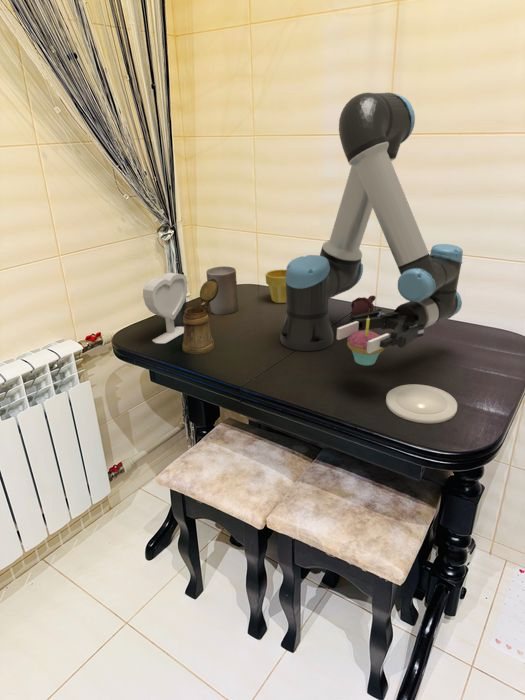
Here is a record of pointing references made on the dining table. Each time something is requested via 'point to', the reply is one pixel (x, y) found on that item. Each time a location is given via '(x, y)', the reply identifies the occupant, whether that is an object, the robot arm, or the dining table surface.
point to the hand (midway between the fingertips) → (352, 340)
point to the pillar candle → (224, 290)
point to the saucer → (421, 403)
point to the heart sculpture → (166, 301)
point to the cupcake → (363, 346)
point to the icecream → (362, 305)
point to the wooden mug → (200, 322)
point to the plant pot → (277, 285)
